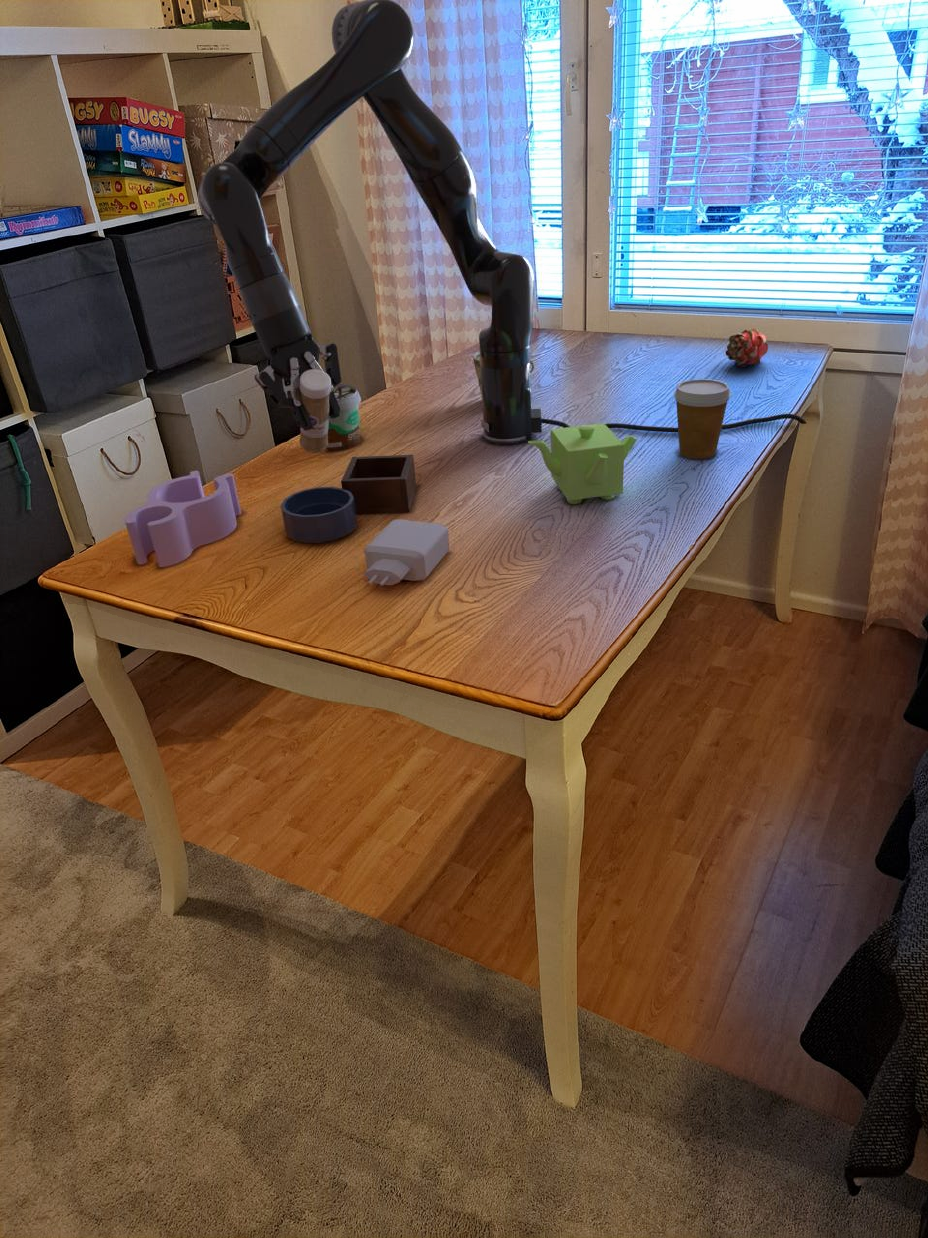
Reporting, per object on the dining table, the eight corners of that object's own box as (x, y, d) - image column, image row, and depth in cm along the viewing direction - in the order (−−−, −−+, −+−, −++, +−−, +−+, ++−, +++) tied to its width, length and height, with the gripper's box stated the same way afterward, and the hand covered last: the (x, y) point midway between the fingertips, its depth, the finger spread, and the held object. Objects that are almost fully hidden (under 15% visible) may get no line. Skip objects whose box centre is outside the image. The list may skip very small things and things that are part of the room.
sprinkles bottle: (299, 453, 139) (299, 388, 127) (299, 432, 141) (299, 367, 130) (329, 454, 139) (331, 389, 128) (328, 433, 142) (330, 368, 131)
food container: (355, 454, 167) (348, 402, 162) (324, 454, 168) (316, 402, 163) (373, 431, 177) (367, 382, 172) (344, 431, 178) (337, 382, 173)
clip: (185, 570, 131) (174, 527, 127) (116, 561, 134) (103, 520, 131) (254, 513, 146) (246, 474, 143) (191, 507, 150) (181, 469, 147)
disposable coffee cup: (730, 446, 158) (736, 379, 152) (719, 465, 151) (725, 396, 145) (677, 441, 162) (681, 376, 156) (664, 460, 155) (668, 392, 149)
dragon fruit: (729, 378, 197) (750, 372, 205) (763, 359, 191) (783, 353, 199) (713, 344, 196) (734, 339, 205) (746, 323, 190) (767, 319, 199)
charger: (347, 595, 121) (393, 546, 133) (408, 604, 118) (450, 553, 130) (342, 564, 119) (390, 518, 130) (404, 572, 115) (447, 524, 127)
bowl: (362, 514, 144) (358, 485, 141) (350, 545, 134) (346, 515, 132) (295, 516, 145) (290, 487, 142) (278, 547, 135) (273, 517, 133)
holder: (416, 486, 152) (413, 454, 149) (409, 512, 143) (405, 478, 140) (356, 488, 153) (352, 456, 150) (345, 514, 144) (340, 481, 141)
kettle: (605, 518, 136) (606, 449, 131) (525, 502, 144) (523, 436, 138) (644, 483, 147) (647, 417, 141) (568, 469, 154) (568, 407, 148)
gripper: (242, 323, 122) (293, 439, 128) (326, 291, 129) (371, 403, 135) (223, 332, 128) (273, 443, 134) (304, 302, 135) (348, 408, 141)
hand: (322, 422), depth 135 cm, fingers closed on sprinkles bottle, 4 cm apart
